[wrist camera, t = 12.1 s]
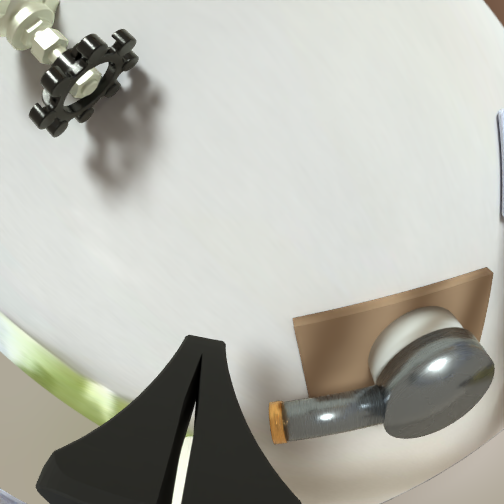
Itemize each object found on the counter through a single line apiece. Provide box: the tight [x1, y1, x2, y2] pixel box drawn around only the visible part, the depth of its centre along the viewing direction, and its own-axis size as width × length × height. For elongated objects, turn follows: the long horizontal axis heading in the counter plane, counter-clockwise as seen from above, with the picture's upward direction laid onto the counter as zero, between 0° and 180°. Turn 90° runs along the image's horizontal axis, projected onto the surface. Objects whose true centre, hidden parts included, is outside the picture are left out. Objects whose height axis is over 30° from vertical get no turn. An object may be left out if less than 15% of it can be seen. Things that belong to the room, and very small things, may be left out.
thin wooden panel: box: [293, 267, 493, 398], centre depth 22 cm, size 16×14×4 cm
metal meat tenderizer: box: [269, 327, 495, 444], centre depth 18 cm, size 16×9×3 cm, turn 101°
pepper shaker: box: [172, 436, 193, 504], centre depth 24 cm, size 5×5×11 cm
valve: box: [0, 0, 139, 137], centre depth 11 cm, size 7×7×12 cm
